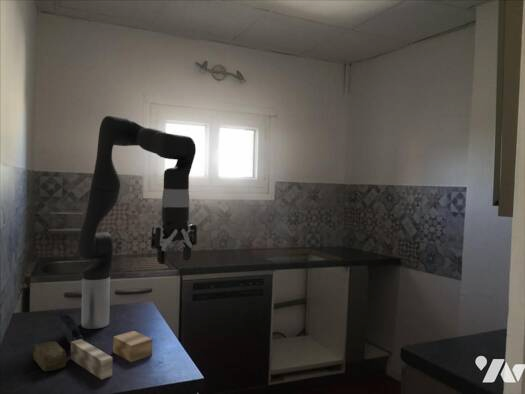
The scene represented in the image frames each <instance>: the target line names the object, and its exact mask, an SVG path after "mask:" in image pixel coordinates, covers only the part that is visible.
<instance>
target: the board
mask: <svg viewBox="0 0 525 394" xmlns="http://www.w3.org/2000/svg"><path fill="white" fill-rule="evenodd" d="M70 360H72V361H73V362H74V363H75V364H77V365H79V366H81V367H82V368H83V369H84V370H87V371H88V372H89V373H91V374H92V375H93V376H95V377H97V378H98V379H99V380H104V379H107V378H111V377H113V356H111V355H109V354H108V353H106V352H105V351H102V350H101V349H99V348H97V347H96V346H94V345H92V344H91V343H89V342H87V341H86V340H82V339H80V340H76V341H72V342H71V344H70Z"/></svg>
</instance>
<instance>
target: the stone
mask: <svg viewBox="0 0 525 394" xmlns="http://www.w3.org/2000/svg"><path fill="white" fill-rule="evenodd" d="M54 317H55V319H56V322H58V324H59V325H60V327H61V329H62V331H63V332H64V334H65V336H66V339H67V341H68V343H69V344H70V345H71V342H72V341H76V340H80V339H82V340H84V337H83V335H81V330H80V327H79V326H78V324H77V323H76V320H75V319H74V318H72V316H70V315H69V314H67V313H65V312H64V311H63V310H62V309H59V310H57V311H56V312H54ZM84 341H85V340H84Z"/></svg>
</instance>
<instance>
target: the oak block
mask: <svg viewBox="0 0 525 394" xmlns="http://www.w3.org/2000/svg"><path fill="white" fill-rule="evenodd" d="M112 352H113V353H114V354H115V355H117V356H119V357H121V358H123V359H124V360H126V361H128V362H131V363H133V362H135V361H139V360H141V359H144V358H149V356H153V338H151V337H149V336H146V335H144V334H142V333H140V332H137V331H135V330H131V331H128V332H125V333H121V334H118V335H115V336H113V342H112Z"/></svg>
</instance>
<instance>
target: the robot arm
mask: <svg viewBox="0 0 525 394" xmlns="http://www.w3.org/2000/svg"><path fill="white" fill-rule="evenodd" d="M98 131H99V132H98V140H97V149H96V159H95V165H94V172H93V175H92V180H91V185H90V190H89V196H88V202H87V206H86V212H85V216H84V220H83V223H82V227H81V230H80V232H79V233H80V234H79V237H78V240H77V254H78V256H79V258H80V259H82V260H95V259H96V260H95V261H94V263H92V264H91V265H89V266H88V267H85V268H84V269H83V270H82V276H81V277H82V280H81V282H82V284H81V285H82V286H81V313H80V314H81V317H80V318H81V319H80V320H81V322H80V323H81V327H82V328H83V329H87V330H95V329H96V330H97V329H101V328H105V327H107V326H109V324H110V306H111V305H110V303H111V301H110V300H111V299H110V297H111V271H112V268H113V267H112V265H113V254H114V252H113V251H114V241H113V238H112V235H111V234H110V232H108V231H105V232H104V231H102V232H101V231H100V232H97V231H98V228H99V226H100V224H101V222H102V221H103V220H104V219H105V218H106V216H107V215H108V214H109V213H110V212H111V211H112V210H113V208H115V206H116V204H117V203H118V199H119V194H120V189H121V181H120V177H119V175H118V172H117V170H116V168H115V165H114V162H113V149H114V146H119V147H129V146H136V147H137V146H139V147H140V148H141V149H142V150H145V151H147V152H150V153H151V154H152V153H153V154H155V155H157V156H158V157H160V158H163V159H167V160H176V164H175V165H174V167H169V168H166V169H165V170H164V172H163V191H162V199H161V201H162V202H161V204H162V205H161V223H162V225H161V227H159V226H152V228H151V238H150V248H151V249H154V250H157V251H156V253H157V262H158V264H159V265H165V264H166V248H167V247H168V246H169V245H170V244H171V242H176V241H178V242H180V243H182V245H183V248H182V249H183V250H182V251H183V252H182V256H183V257H182V259H183V260H184V261H190V259H191V258H192V255H191V253H192V247H193V246H196V245H197V244H198V231H197V226H198V225H196V224H191V223H189V224H188V222H189V221H190V193H189V192H190V191H189V190H190V188H189V187H190V173H191V170H192V167H193V164H194V159H195V157H196V153H197V152H196V151H197V149H196V143H195V141H194V139H193V138H192V137H191V136H188V135H181V134H175V133H170V132H166V131H164V130H159V129H156V128H151V127H144V126H142V125H140V124H139V123H137V122H135V121H133V120H131V119H128V118H124V117H118V116H113V115H107V116H105V117H103V118H102V120H101V123H100V126H99V130H98ZM187 233H188V234H187ZM161 235H162V236H161Z"/></svg>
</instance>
